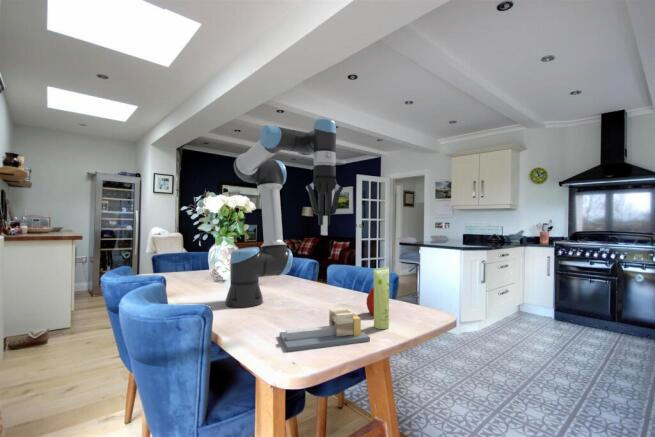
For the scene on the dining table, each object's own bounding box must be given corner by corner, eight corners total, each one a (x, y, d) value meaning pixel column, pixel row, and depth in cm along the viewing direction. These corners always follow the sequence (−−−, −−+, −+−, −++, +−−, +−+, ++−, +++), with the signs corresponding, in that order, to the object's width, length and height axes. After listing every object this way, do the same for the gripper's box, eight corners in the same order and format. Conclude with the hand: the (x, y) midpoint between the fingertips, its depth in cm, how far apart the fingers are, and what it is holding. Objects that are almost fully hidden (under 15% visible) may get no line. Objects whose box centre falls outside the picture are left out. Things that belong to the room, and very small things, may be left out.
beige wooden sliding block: (329, 328, 97) (329, 309, 97) (344, 327, 99) (344, 307, 99) (337, 336, 90) (337, 315, 90) (353, 334, 92) (353, 313, 92)
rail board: (279, 336, 94) (279, 315, 95) (353, 328, 102) (353, 308, 102) (287, 351, 83) (287, 328, 83) (369, 341, 91) (369, 319, 91)
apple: (384, 318, 113) (384, 288, 113) (362, 315, 117) (362, 286, 117) (391, 312, 120) (391, 284, 120) (370, 310, 124) (370, 282, 124)
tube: (389, 330, 100) (389, 268, 100) (373, 329, 101) (373, 268, 101) (389, 325, 105) (388, 266, 106) (373, 324, 106) (373, 266, 107)
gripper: (308, 162, 102) (308, 235, 102) (346, 165, 106) (346, 235, 106) (303, 166, 109) (302, 234, 109) (338, 168, 113) (338, 234, 113)
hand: (324, 234), depth 107 cm, fingers closed
